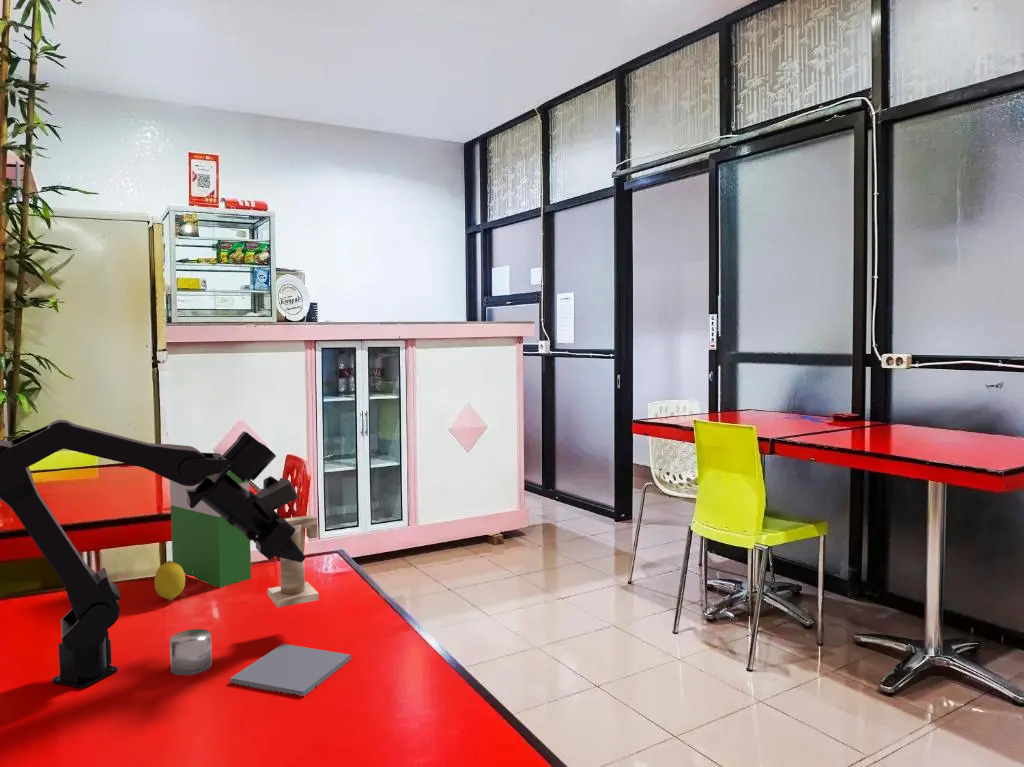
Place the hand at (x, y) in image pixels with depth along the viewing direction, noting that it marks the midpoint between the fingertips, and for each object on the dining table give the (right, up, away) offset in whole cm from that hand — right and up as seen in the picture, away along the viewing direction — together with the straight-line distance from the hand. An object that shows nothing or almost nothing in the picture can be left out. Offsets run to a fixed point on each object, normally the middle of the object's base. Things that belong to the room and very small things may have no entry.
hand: (300, 556), depth 132 cm
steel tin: (-14, -15, -13) cm, 24 cm away
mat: (+3, -15, -14) cm, 21 cm away
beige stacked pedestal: (-1, -7, 0) cm, 7 cm away
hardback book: (-28, -11, +31) cm, 43 cm away
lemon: (-30, -13, +16) cm, 36 cm away
